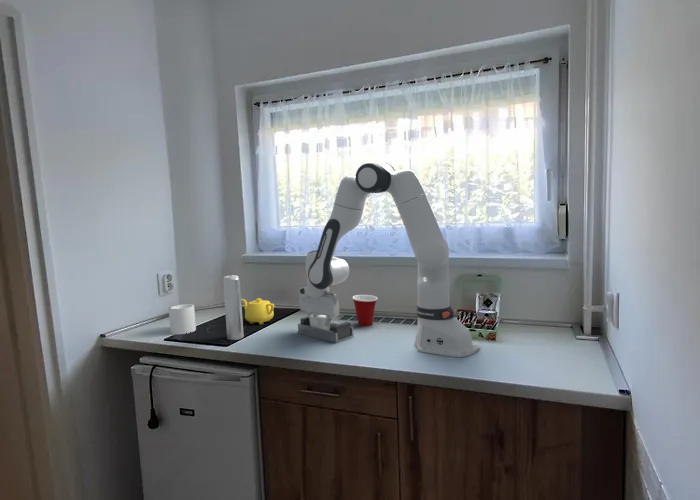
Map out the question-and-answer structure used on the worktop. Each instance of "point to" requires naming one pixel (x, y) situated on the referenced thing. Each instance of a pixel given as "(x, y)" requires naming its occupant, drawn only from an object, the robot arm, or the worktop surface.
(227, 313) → the silver cylinder
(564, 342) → the worktop surface
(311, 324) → the block
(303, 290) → the robot arm
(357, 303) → the plastic cup
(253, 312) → the teapot
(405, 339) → the worktop surface
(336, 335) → the grey rectangular tray
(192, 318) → the mug
